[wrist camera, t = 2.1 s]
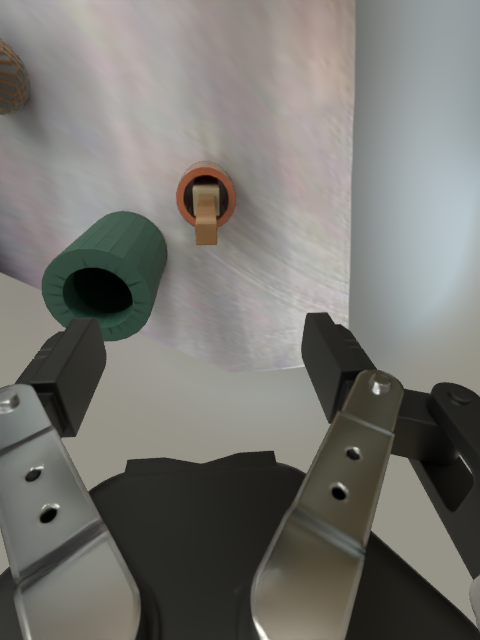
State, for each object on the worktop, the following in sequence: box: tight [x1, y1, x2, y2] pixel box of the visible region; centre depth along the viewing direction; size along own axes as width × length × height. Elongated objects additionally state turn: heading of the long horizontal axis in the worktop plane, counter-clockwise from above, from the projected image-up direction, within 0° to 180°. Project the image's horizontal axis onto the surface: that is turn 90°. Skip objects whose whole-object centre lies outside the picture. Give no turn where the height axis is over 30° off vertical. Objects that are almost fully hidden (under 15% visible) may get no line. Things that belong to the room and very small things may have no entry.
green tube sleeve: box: [42, 211, 167, 341], centre depth 38 cm, size 10×10×15 cm
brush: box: [193, 178, 220, 245], centre depth 33 cm, size 3×3×20 cm
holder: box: [176, 161, 236, 227], centre depth 39 cm, size 7×7×7 cm
